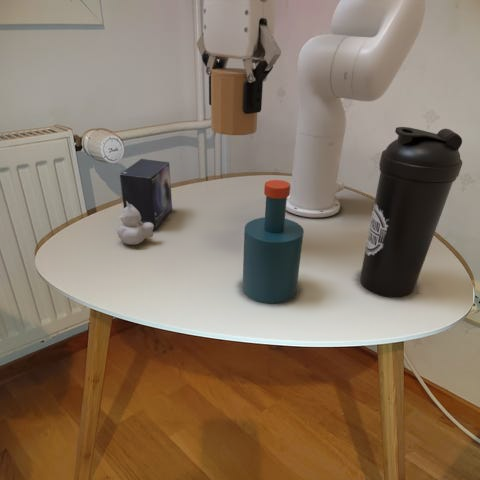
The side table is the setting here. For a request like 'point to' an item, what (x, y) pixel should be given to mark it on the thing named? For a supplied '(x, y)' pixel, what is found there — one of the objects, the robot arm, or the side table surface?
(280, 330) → the side table surface
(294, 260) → the teal bottle
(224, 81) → the light brown faceted cylinder
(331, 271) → the side table surface
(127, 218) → the rubber duck
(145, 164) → the small box
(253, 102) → the robot arm
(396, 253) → the water bottle
